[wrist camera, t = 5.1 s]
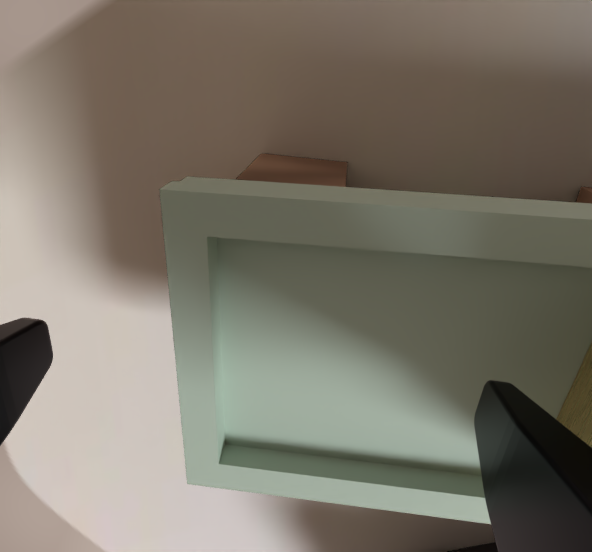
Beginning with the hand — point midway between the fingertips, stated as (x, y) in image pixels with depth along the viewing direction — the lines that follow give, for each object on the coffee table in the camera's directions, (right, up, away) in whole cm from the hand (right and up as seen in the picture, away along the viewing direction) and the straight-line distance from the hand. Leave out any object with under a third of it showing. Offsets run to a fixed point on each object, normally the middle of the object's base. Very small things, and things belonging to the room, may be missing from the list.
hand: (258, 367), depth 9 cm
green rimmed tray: (+8, 0, +1) cm, 8 cm away
